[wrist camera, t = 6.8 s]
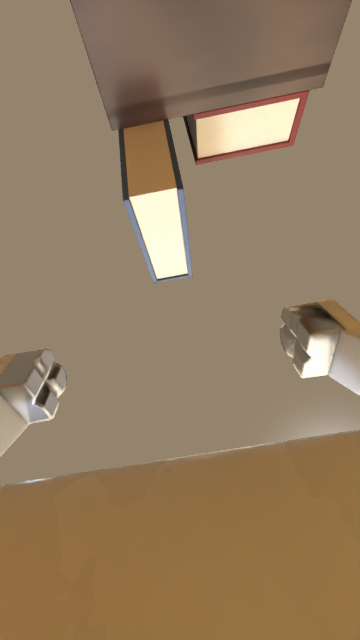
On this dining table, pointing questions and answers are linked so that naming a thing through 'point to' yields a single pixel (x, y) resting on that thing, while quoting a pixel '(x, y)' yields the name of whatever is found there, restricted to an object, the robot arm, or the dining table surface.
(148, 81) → the bookcase
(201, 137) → the dictionary
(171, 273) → the slate book
